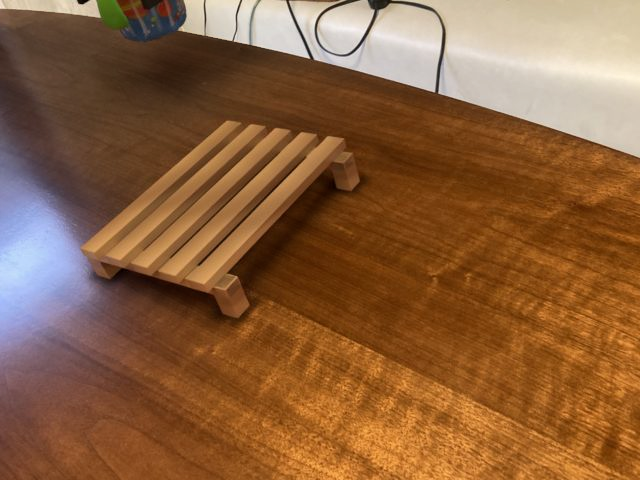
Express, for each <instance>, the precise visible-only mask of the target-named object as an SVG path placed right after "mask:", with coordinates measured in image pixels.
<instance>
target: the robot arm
mask: <svg viewBox="0 0 640 480" xmlns="http://www.w3.org/2000/svg"><path fill="white" fill-rule="evenodd" d="M90 1H91V0H76V2H77V5H82V6H83V5H86V3H88V2H90ZM162 1H163V0H141V3H142V5H143V8H144V9H146V10H150V9H151V8H153V7H154V6H156V5H157V4H159V3H160V2H162Z"/></svg>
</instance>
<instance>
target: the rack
mask: <svg viewBox="0 0 640 480" xmlns="http://www.w3.org/2000/svg"><path fill="white" fill-rule="evenodd" d="M345 139H346V138H345V137H344V138H343V137H339V136H338V137H337V136H331V135H328V136H326V137H325V138H324V139H323V140H322V142H320V141H319V137H318V134H317V133H311V132H310V133H309V132H304V131H301V132H300V133H299V134H298V135H296V137H294V136H293V133H292V131H291V129H286V128H281V127H280V128H279V127H275V128H274V129H273V130H272V131H271V132H268V129H267V127H266V125H261V124H253V123H250V125H248V126H247V127H246V128H245V129H244V127H243V124H242V122H240V121H235V120H225V122H223V123H222V124H221V125H219V127H218V128H217V129H215V130H214V131H213V132H212V133H211V134H209V136H208V137H206V138H205V139H204V140H203V141H201V142H200V143H199V144H198V145H196V147H194V148H193V149H192V150H191V151H190V152H189V153H188V154H187V155H185V156H184V157H183V158H182V159H181V160H179V161H178V162H177V164H175V165H174V166H172V167H171V169H169V170H168V171H167V172H166V173H165V174H163V175H162V176H161V177H160V178H159V179H158V180H156V181H155V182H154V183H153V184H152V185H151V186H150V187H149V188H147V189H146V190H145V191H143V193H141V195H139V196H138V197H136V199H135V200H133V202H131V203H130V204H129V205H128V206H126V207H125V208H124V209H123V210H122V211H121V212H120V213H119V214H117V215H116V216H115V217H114V218H113V219H112V220H110V222H108V223H107V224H106V225H104V227H103V228H101V229H100V230H99V231H98V232H97V233H95V235H93V236H92V237H91V238H90V239H89V240H88V241H86V242H85V243H84V244H83V245H82V246H80V247H79V249H80V251H81V253H82V255H83V256H84V257H86V258H87V260H88V261H89V263H90V265H91V267H92V268H93V270H94V272H95V273H96V275H97V276H98V277H102V278H105V279H108V280H111V279H112V278H113V277H114V276H115V275H116V274H117V273H119V271H121V270H122V269H125V270H129V271H132V272H135V273H139V274H142V275H145V276H149V277H153V278H156V279H159V280H163V281H166V282H169V283H173V284H175V285H176V284H177V285H179V286H182V287H186V288H190V289H193V290H196V291H200V292H203V293H205V294H210V295H213V296H214V298H215V301H216V302H217V305H218V307H219V309H220V311H221V313H222V315H225V316H228V317H231V318H235V319H239V318H240V317H241V316H242V314H244V312H245V311H246V310H247V309H248V308H249V307H250V303H249V300H248V297H247V295H246V294H245V291H244V289H243V286H242V283H241V281H240V279H239V277H238V276H237V275H234V274H230V273H228V272H229V271H230V270H231V269H232V268H233V267H234V266H236V264H237V263H238V262H239V261H240V260H241V259H242V258H243V257H244V256H245V255H246V253H247V252H248V251H249V250H250V249H251V248H252V247H253V246H254V245H255V244H256V243H257V242H258V241H259V240H260V238H261V237H262V236H263V235H264V234H265V233H266V232H267V231H268V230H269V229H270V228H271V227H272V226H273V225H274V224H275V223H276V222H277V221H278V220H279V219H280V218H281V217H282V215H284V213H285V212H286V211H287V210H288V209H289V208H291V206H292V205H293V204H294V203H295V202H296V201H297V200H298V198H300V197H301V195H302V194H303V193H304V192H305V191H306V190H307V189H308V188H309V187H310V186H311V185H312V184H313V183H314V182H315V181H316V180H317V179H318V177H320V175H321V174H322V173H323V172H324V171H325V170H326V169H328V170H331V173H332V176H333V180H334V184H335V187H336V189H337V190H342V191H348V192H352V191H353V190H354V188H355V187H356V186H357V185H358V184H359V183H360V182H361V180H360V175H359V172H358V168H357V164H356V160H355V157H354V153H353V152H350V151H344V150H345V149H346V148H347V144H346V140H345ZM319 143H320V144H319ZM318 144H319V145H318ZM296 166H297V167H296ZM295 167H296V168H295ZM294 168H295V169H294ZM290 172H291V173H290ZM282 180H283V181H282ZM276 186H277V187H276ZM273 189H274V190H273ZM272 190H273V191H272ZM270 192H271V193H270ZM267 195H268V196H267ZM260 202H261V203H260ZM258 204H259V205H258ZM250 213H251V214H250ZM249 214H250V215H249ZM246 217H247V218H246ZM244 219H245V220H244ZM243 220H244V221H243ZM239 224H240V225H239ZM233 230H234V231H233ZM229 234H230V235H229ZM228 235H229V236H228ZM225 238H226V239H225ZM224 239H225V240H224ZM223 240H224V241H223ZM221 242H222V243H221ZM220 243H221V244H220ZM219 244H220V245H219ZM218 245H219V246H218ZM217 246H218V247H217ZM215 248H216V249H215ZM214 249H215V250H214ZM213 250H214V251H213ZM212 251H213V252H212ZM210 253H211V254H210ZM209 254H210V255H209ZM208 255H209V256H208ZM206 257H207V258H206ZM205 258H206V259H205ZM203 260H204V261H203ZM202 261H203V262H202ZM201 262H202V263H201ZM200 263H201V264H200ZM199 264H200V265H199Z"/></svg>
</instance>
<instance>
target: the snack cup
mask: <svg viewBox="0 0 640 480" xmlns="http://www.w3.org/2000/svg"><path fill="white" fill-rule="evenodd" d="M95 3H96V5H97V9H98V12H99V16H100V19H101V21H102V23H103V24H104V25H105V26H106V27H107V28H108V29H110V30H114V31H119V32H120V34H121V35H122V37H123V38H124V39H125V40H128V41H131V42H137V43H139V42H141V43H147V42H151V41H154V40H159V39H162V38H164V37H167V36H169V35H171V34H173V33H177V32H178V31H179V29H180V28H182V27H183V26H184V24H185V23H186V20H187V17H188V15H187V7H186V3H185V0H163V1H162V2H160V3H159V4H157V5H156V6H154V7H153V8H151V9H150V10H146V9H144V8H143V5H142V3H141V0H95Z"/></svg>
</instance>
